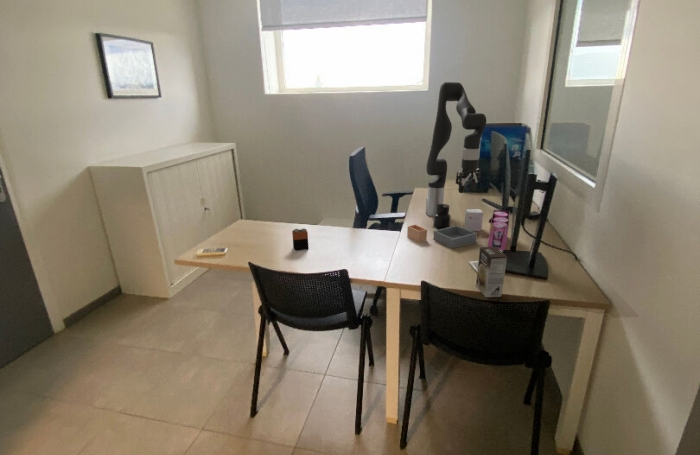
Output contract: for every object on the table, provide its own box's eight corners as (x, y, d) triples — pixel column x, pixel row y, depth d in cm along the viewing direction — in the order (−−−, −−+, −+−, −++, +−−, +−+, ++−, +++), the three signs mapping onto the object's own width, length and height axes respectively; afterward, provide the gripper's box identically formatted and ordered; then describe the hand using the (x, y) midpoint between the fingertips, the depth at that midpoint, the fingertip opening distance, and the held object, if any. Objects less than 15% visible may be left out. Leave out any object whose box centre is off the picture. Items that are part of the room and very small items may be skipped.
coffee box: (475, 285, 145) (479, 246, 139) (491, 284, 145) (496, 245, 140) (485, 297, 136) (490, 256, 131) (502, 296, 137) (508, 256, 131)
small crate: (407, 237, 194) (407, 226, 192) (414, 235, 196) (415, 224, 194) (418, 242, 186) (419, 231, 184) (426, 240, 189) (427, 229, 186)
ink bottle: (448, 223, 211) (450, 203, 207) (452, 229, 203) (454, 207, 199) (431, 223, 212) (432, 203, 208) (433, 229, 203) (435, 208, 199)
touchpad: (486, 263, 165) (486, 258, 164) (500, 279, 150) (501, 274, 150) (468, 263, 164) (468, 259, 163) (481, 280, 150) (481, 275, 149)
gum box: (504, 254, 172) (508, 226, 167) (486, 252, 175) (489, 224, 170) (506, 236, 192) (510, 211, 188) (490, 234, 195) (493, 209, 191)
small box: (479, 227, 205) (481, 209, 201) (481, 231, 200) (483, 212, 196) (463, 227, 206) (465, 208, 202) (465, 231, 200) (467, 212, 197)
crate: (433, 239, 190) (433, 231, 188) (456, 233, 197) (456, 225, 195) (452, 248, 179) (453, 239, 177) (475, 242, 186) (476, 233, 184)
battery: (293, 247, 182) (291, 228, 179) (307, 246, 184) (306, 226, 180) (294, 251, 178) (293, 231, 175) (308, 249, 180) (307, 229, 176)
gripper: (474, 155, 183) (471, 187, 189) (453, 158, 177) (450, 192, 182) (487, 157, 177) (483, 191, 183) (465, 160, 171) (462, 195, 176)
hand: (467, 191), depth 183 cm, fingers open, 8 cm apart
